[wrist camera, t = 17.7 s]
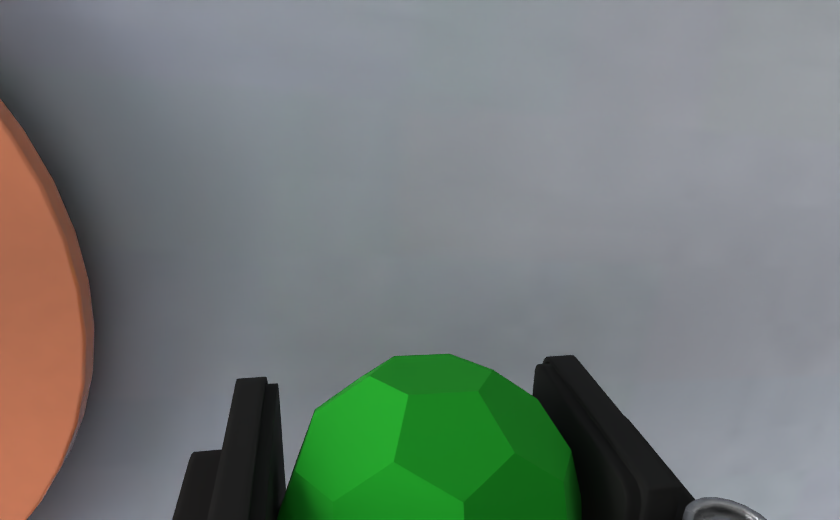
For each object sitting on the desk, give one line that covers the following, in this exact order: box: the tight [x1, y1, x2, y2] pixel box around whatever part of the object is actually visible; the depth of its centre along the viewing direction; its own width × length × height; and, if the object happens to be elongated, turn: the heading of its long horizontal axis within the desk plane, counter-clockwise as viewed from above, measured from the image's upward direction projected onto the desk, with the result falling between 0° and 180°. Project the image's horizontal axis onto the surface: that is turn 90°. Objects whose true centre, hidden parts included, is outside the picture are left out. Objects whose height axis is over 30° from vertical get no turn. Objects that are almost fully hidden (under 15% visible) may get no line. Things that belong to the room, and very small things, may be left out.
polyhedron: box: [277, 354, 582, 520], centre depth 10 cm, size 5×5×5 cm
